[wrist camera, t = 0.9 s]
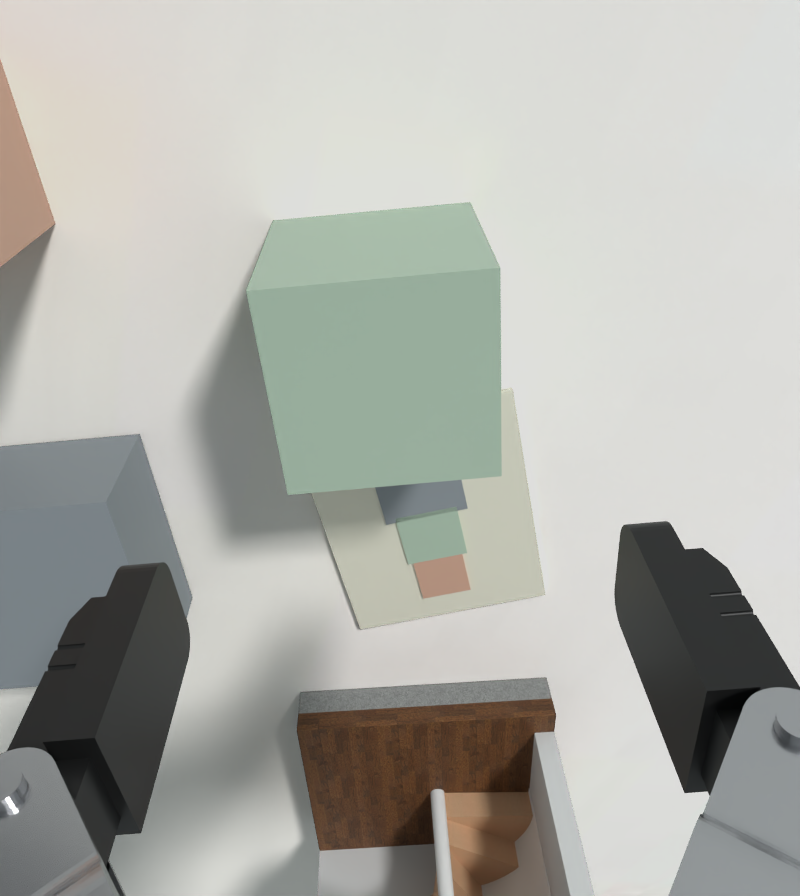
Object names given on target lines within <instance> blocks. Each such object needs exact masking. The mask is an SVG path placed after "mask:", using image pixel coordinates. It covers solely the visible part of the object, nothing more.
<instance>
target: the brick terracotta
mask: <svg viewBox="0 0 800 896" xmlns="http://www.w3.org/2000/svg"><path fill="white" fill-rule="evenodd" d="M54 224H55V221H54V218H53V215H52V212H51V209H50V206H49V203H48V200H47V197H46V194H45V191H44V188H43V185H42V182H41V179H40V176H39V173H38V170H37V167H36V164H35V161H34V159H33V156H32V153H31V150H30V147H29V144H28V141H27V138H26V135H25V132H24V129H23V126H22V123H21V120H20V117H19V114H18V111H17V108H16V105H15V102H14V99H13V96H12V93H11V90H10V87H9V84H8V81H7V78H6V75H5V72H4V69H3V66H2V63H1V60H0V267H1V266H2V265H4V264H5V263H6V262H7V261H9V260H10V259H11V258H12V257H14V256H15V255H16V254H18V253H19V252H20V251H21V250H23V249H24V248H25V247H26V246H28V245H29V244H30V243H32V242H33V241H34V240H35V239H37V238H38V237H39V236H40V235H42V234H43V233H44V232H45V231H47V230H48V229H49V228H51V227H52V226H53V225H54Z"/></svg>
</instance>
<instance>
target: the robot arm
mask: <svg viewBox="0 0 800 896" xmlns="http://www.w3.org/2000/svg"><path fill="white" fill-rule="evenodd" d="M615 606H616V612H617V617H618V621H619V624H620V627H621V629H622V632H623V634H624V637H625V640H626V642H627V645H628V647H629V650H630V653H631V655H632V658H633V660H634V663H635V666H636V668H637V671H638V673H639V676H640V679H641V681H642V684H643V686H644V689H645V692H646V694H647V697H648V699H649V702H650V704H651V707H652V710H653V712H654V715H655V717H656V720H657V723H658V725H659V728H660V730H661V733H662V736H663V738H664V741H665V743H666V746H667V749H668V751H669V754H670V756H671V759H672V762H673V764H674V767H675V769H676V772H677V774H678V777H679V780H680V782H681V785H682V787H683V790H684V793H692V792H704V791H708V793H709V795H710V797H709V800H708V802H707V805H706V808H705V810H704V812H703V814H701V815H700V816H699V818H698V820H697V823H696V825H695V828H694V830H693V833H692V835H691V838H690V840H689V843H688V846H687V848H686V851H685V854H684V856H683V859H682V862H681V864H680V867H679V870H678V872H677V875H676V877H675V880H674V883H673V885H672V888H671V891H670V893H669V896H800V687H799V685H798V683H797V682H796V680H795V678H794V677H793V675H792V674H791V672H790V670H789V669H788V667H787V665H786V664H785V662H784V660H783V659H782V657H781V655H780V654H779V652H778V650H777V649H776V647H775V646H774V644H773V642H772V641H771V639H770V637H769V636H768V634H767V632H766V631H765V629H764V627H763V626H762V624H761V622H760V621H759V619H758V618H757V616H756V615H754V614H753V609H752V608H751V606H750V604H749V603H748V601H747V599H746V598H745V596H742V594H741V589H740V588H739V586H738V585H737V583H736V581H735V580H734V578H733V576H732V575H731V573H730V571H729V570H728V568H727V567H726V566H725V565H723V564H722V563H721V562H720V561H718V560H717V559H716V558H714V557H713V556H712V555H711V554H709V553H708V552H707V551H706V550H704V549H703V548H698V549H686V550H685V549H684V547H683V545H682V543H681V541H680V540H679V538H678V536H677V534H676V532H675V531H674V529H673V527H672V526H671V524H670V523H669V522H667V521H664V522H652V523H640V524H628V525H624V526H623V527H622V529H621V533H620V542H619V552H618V561H617V571H616V581H615ZM57 646H58V649H57V650H55V651H54V653H53V656H52V658H51V660H50V662H49V664H48V671H45V672H44V675H43V677H42V679H41V681H40V683H39V685H38V687H37V689H36V691H35V694H34V696H33V698H32V700H31V702H30V704H29V706H28V708H27V710H26V713H25V715H24V717H23V719H22V721H21V723H20V725H19V727H18V729H17V732H16V734H15V736H14V738H13V740H12V742H11V744H10V746H9V748H8V750H7V752H4V753H2V754H0V896H126V895H125V892H124V890H123V888H122V886H121V884H120V882H119V880H118V878H117V876H116V873H115V871H114V869H113V867H112V865H111V863H110V861H109V856H110V853H111V849H112V846H113V843H114V839H115V836H116V835H122V834H135V833H141V831H142V827H143V824H144V820H145V816H146V813H147V809H148V805H149V802H150V798H151V794H152V791H153V787H154V783H155V780H156V776H157V772H158V768H159V765H160V761H161V757H162V754H163V750H164V746H165V743H166V739H167V735H168V732H169V728H170V724H171V720H172V717H173V713H174V709H175V706H176V702H177V698H178V695H179V691H180V687H181V684H182V680H183V676H184V673H185V669H186V665H187V661H188V657H189V650H190V633H189V627H188V622H187V619H186V616H185V613H184V610H183V607H182V604H181V601H180V598H179V595H178V592H177V589H176V586H175V583H174V580H173V577H172V574H171V571H170V569H169V567H168V565H167V564H166V563H165V562H159V563H147V564H135V565H123V566H121V567H119V569H118V570H117V572H116V574H115V576H114V578H113V581H112V583H111V585H110V587H109V590H108V592H107V594H106V596H104V597H92V598H90V599H89V600H88V602H87V603H86V604H85V605H84V606H83V607H82V608H81V609H80V610H79V611H78V612H77V613H76V614H75V615H74V616H73V617H72V618H71V619H70V620H69V622H68V624H67V626H66V628H65V630H64V632H63V634H62V637H61V639H60V641H59V643H58V645H57Z"/></svg>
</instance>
